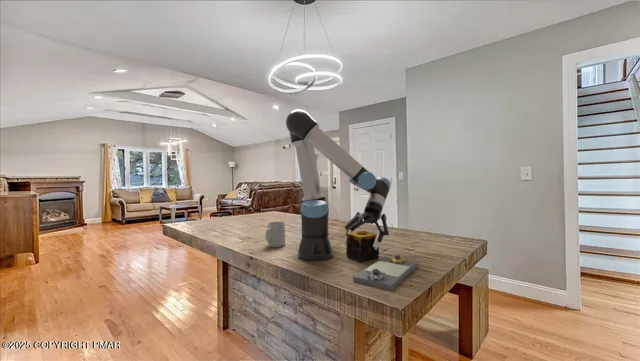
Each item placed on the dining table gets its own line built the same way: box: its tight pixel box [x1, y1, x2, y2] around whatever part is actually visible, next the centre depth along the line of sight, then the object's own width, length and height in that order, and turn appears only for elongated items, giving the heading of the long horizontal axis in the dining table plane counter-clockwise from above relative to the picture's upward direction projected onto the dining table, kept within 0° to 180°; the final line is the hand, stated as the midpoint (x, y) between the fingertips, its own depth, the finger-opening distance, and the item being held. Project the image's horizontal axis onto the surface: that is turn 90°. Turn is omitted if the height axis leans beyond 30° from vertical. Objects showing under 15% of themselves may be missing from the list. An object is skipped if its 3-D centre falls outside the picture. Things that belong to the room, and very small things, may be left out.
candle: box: [345, 230, 380, 263], centre depth 115 cm, size 10×10×10 cm
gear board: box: [352, 254, 418, 291], centre depth 96 cm, size 13×26×4 cm, turn 144°
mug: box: [265, 221, 286, 248], centre depth 136 cm, size 12×8×11 cm
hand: (359, 246), depth 113 cm, fingers closed on candle, 13 cm apart
